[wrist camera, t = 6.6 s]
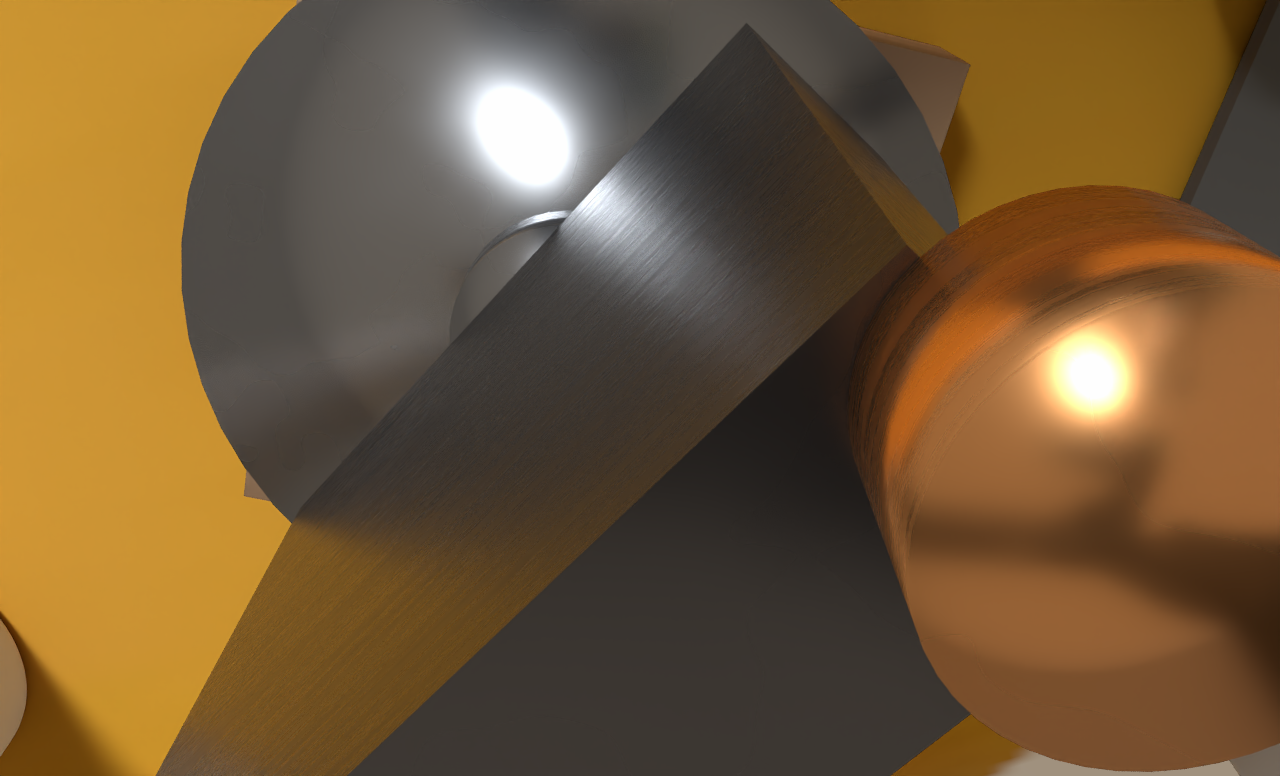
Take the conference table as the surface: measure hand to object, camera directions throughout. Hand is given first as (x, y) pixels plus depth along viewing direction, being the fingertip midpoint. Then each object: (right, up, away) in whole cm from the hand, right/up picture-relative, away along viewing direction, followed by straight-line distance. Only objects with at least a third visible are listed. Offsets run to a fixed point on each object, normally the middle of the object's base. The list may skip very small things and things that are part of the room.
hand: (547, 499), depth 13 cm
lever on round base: (0, +3, +6) cm, 7 cm away
